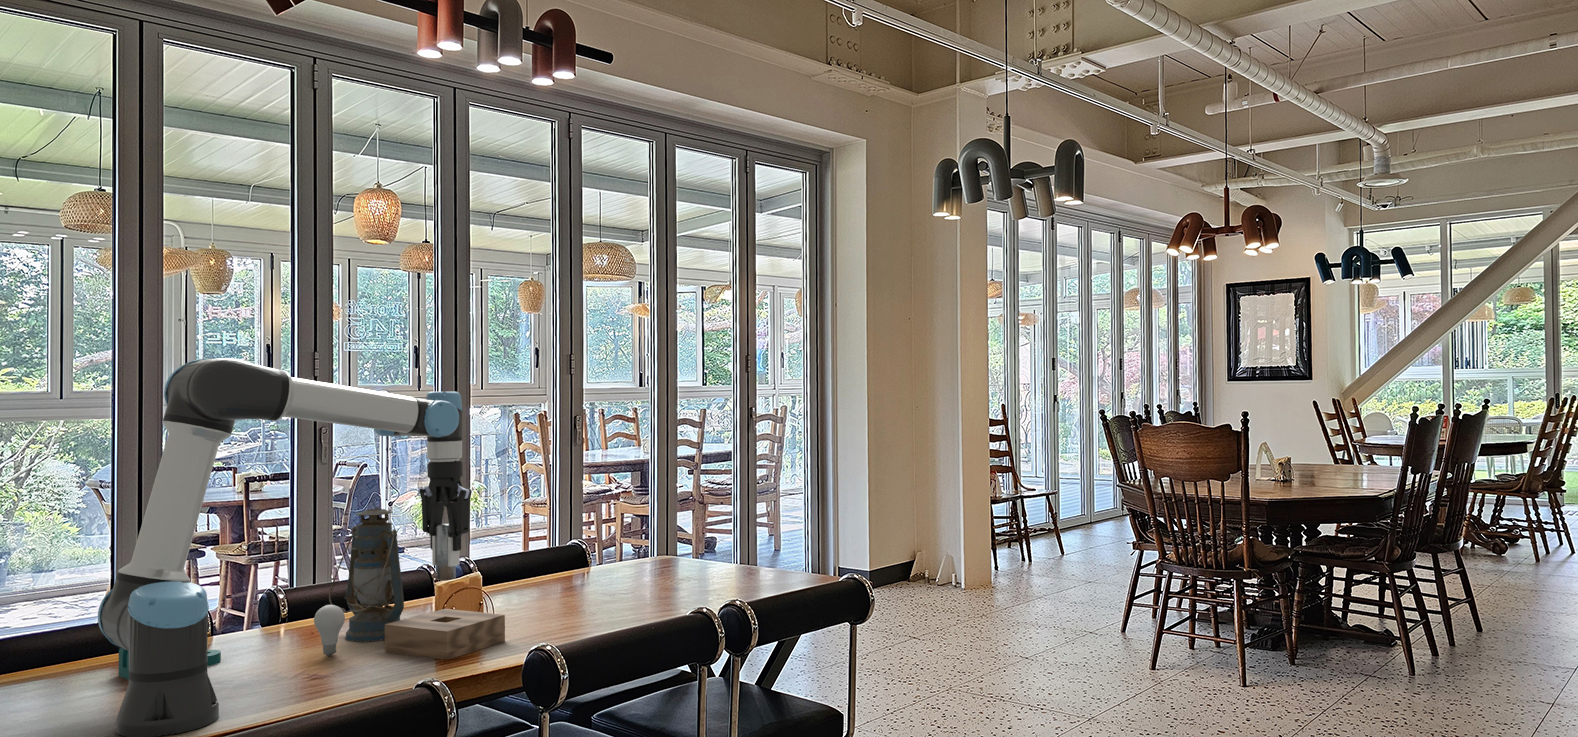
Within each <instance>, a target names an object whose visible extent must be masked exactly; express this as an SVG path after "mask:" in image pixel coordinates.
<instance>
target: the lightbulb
mask: <svg viewBox="0 0 1578 737" xmlns="http://www.w3.org/2000/svg"><path fill="white" fill-rule="evenodd" d="M341 608H342V607H340V606H338V605H335V604H332V605H331V604H326V605H324V606H322V607H321V608H319V609H318V610H317V611H316V613H315V614H314V619H313V622H314V626H315V628H316V630H317V632H318V633H319V636H320V640H321V645H322V651H323V655H324V656H327V657H333V655H334V654H336V652H337V644H338V638H339V634H340V632H341V630H342V628H343V626H344V624H345V621H346V619H345V618H346V616H345V615H346V614H345V612H344V610H342V609H341Z"/></svg>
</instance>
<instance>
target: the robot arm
mask: <svg viewBox="0 0 1578 737" xmlns="http://www.w3.org/2000/svg"><path fill="white" fill-rule="evenodd" d="M163 391H164V392H163V397H164V401H165V403H166V409H165V413H164V415H163V419H162V421H161V422H162V423H161V424H162V425H163V426H164V428H165V429H166V431H167V433H168V434H167V438H166V440H165V441H166V442H165V445H164V449H163V451H162V456H161V458H160V462H159V466H158V468H157V472H156V476H155V479H154V483H153V484H152V489H151V492H150V497H149V500H148V503H147V505H146V510H145V514H144V515H143V516H144V517H143V519H142V522H141V525H140V526H141V527H140V530H139V533H138V537H137V540H136V544H135V547H134V550H133V554H132V558H131V561H130V562H129V563H127V564H126V565H124V566H122V567H121V568H120V569H118V571H117V574H116V578H115V580H114V584H113V587H112V589H110V590H109V591H108V593H107V594H106V595H105V596H104V597H103V598H102V599H101V600H102V601H101V602H100V605H99V606H98V607H99V608H98V611H97V624H98V627H99V629H100V631H101V633H102V634H103V636H105V638H106V639H107V640H108V641H109V642H110V643H111V644H112V645H114V646H115V647H118V648H119V649H120V648H122V649H126V650H128V651H129V680H128V684H127V687H126V691H125V694H124V697H123V698H122V699H123V700H122V703H121V705H120V709H119V711H118V713H117V716H116V725H115V726H116V733H117V734H118V735H120V736H123V737H162V736H161V735H164V736H169V735H168V734H170V735H174V734H173V733H176V734H181V733H185V731H186V732H190V731H193V730H196V729H200V728H203V727H204V726H205V727H206V726H207V725H210V724H212V723H214V722H215V721H216V720H218V719H219V715H220V712H219V711H220V705H219V700H218V698H217V696H216V693H215V690H214V687H213V684H212V681H211V679H210V677H209V674H208V666H207V650H208V640H209V639H208V626H209V625H208V621H209V618H208V617H209V616H208V615H209V614H208V613H209V609H210V608H209V607H210V606H209V602H208V593H207V591H206V589H205V588H204V587H203V586H201V585H199V584H197V583H194V582H191V579H190V577H189V575H188V574H187V572H186V570H185V566H186V563H187V559H188V556H189V552H190V549H191V546H192V543H193V542H192V541H193V538H194V535H195V530H196V528H197V524H198V520H199V516H200V513H201V510H202V506H203V502H204V500H205V496H206V492H207V489H208V485H209V482H210V479H211V478H210V477H211V475H212V474H211V473H212V470H213V468H214V464H215V460H216V457H217V454H218V453H217V452H218V449H219V446H220V444H221V443H222V442H223V441H225V440H227V439H228V438H230V437H231V436H232V434H233V430H234V425H235V422H236V421H238V420H244V421H245V420H263V421H272V422H277V421H279V420H281V419H282V418H290V419H291V418H292V419H298V420H307V421H311V422H312V421H314V422H320V423H329V424H335V425H336V424H337V425H343V426H351V427H358V428H367V429H373V430H374V432H375V433H376V434H377V435H378V436H380V437H391V438H392V437H393V438H394V437H398V436H399V437H401V436H405V437H406V436H407V437H426V441H427V442H426V454H427V455H426V459H427V460H429V461H428V462H427V464H426V467H427V468H426V469H427V471H426V472H427V474H426V475H427V478H428V479H430V480H429V484H428V485H427V486H426V487H423V488H419V489H418V493H419V494H420V495H419V496H420V498H421V522H422V523H421V524H422V532H423V533H427V534H428V536H430V537H429V538H430V539H429V540H430V541H429V542H430V544H429V545H430V550H431V553H432V554H431V555H432V556H431V558H432V559H431V560H432V561H431V562H432V564H431V565H432V566H437V546H436V525H438V524H443V518H444V511H445V508H446V513H447V518H448V523H449V526H450V533H451V535H449V537H448V566H449V567H452V566H460V565H461V564H460V562H461V561H460V551H461V550H462V536H463V535H465V534H467V533H469V532H470V499H471V496H472V490H473V489H471V488H465V487H463V485H462V480H461V478H462V477H463V474H464V473H463V472H464V470H463V469H464V468H463V466H464V464H463V461H462V460H460V459H462V458H463V413H464V412H463V403H462V402H463V401H462V395H461V393H460V392H458V391H454V390H453V391H428V392H427V393H426V398H421V397H420V398H419V397H413V396H408V395H404V394H395V393H389V392H384V391H378V390H373V389H365V388H360V387H353V386H348V385H342V384H337V383H336V384H335V383H330V382H324V381H316V380H311V379H306V378H300V377H292V376H291V375H290V374H289V372H288V371H286V370H283V369H277V368H273V367H268V366H264V365H260V364H255V363H253V362H249V361H245V360H242V359H235V358H232V357H231V358H230V357H219V358H199V359H195V360H192V361H188V362H186V363H184V364H183V365H180V366H179V367H178V368H175V370H174V371H173V372H172V373H171V374H170V376H169V377H168V379H167V381H166V382H165V384H164V390H163ZM180 732H181V733H180ZM166 734H167V735H166Z"/></svg>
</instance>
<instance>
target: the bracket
mask: <svg viewBox="0 0 1578 737" xmlns="http://www.w3.org/2000/svg"><path fill="white" fill-rule="evenodd" d="M221 657H222V651H221V650H219V649H207V667H210V666H214V665H217V664H220V663H221V660H222V659H221ZM118 677H121V678H122V679H124V680H127V681H129V651H128V650H126V649H122V648H120V647H119V648H118Z"/></svg>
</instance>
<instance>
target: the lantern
mask: <svg viewBox="0 0 1578 737" xmlns="http://www.w3.org/2000/svg"><path fill="white" fill-rule="evenodd" d="M393 513H394V512H393V511H391V510H388V509H385V508H383V509H382V508H381V509H380V506H376V507H373V508H371V509H366V510H363V511H361V512H357V513H356V514H355V515H357V516H360V524H356V525H355V526H353V527H351V528H352V529H351V531H352V533H351V536H350V538H349V540H348V543H347V546H346V547H345V550H344V552H343V554H342V557H341V559H340V561H339V564H338V567H337V569H336V572H335V575H334V578H333V580H332V583H331V586H330V590H329V594H328V600H329V603H330V604H329V605H333V603H332V600H331V595H332V592H333V591H332V590H333V587H334V585H335V581H336V579H337V575H338V573H339V571H340V568H341V565H342V562H343V560H344V557H345V556H346V552H347V550H348V548H349V545H350V543H351V550H350V557H349V558H350V561H349V568H348V579H347V587H346V594H345V595H344V600H346V603H347V606H348V608H349V610H347V611H346V609H345V608H344V607H340V608H341V609H342V610H343V612H344V614H348V613H350V612H351V613H353V615H352V616H351V617H349V618H348V624H349V625H348V630H346V632H345V640H346V641H350V642H359V643H361V642H365V643H366V642H376V641H377V642H378V641H385V624H388V623H392V622H396V621H400V620H401V615H402V613H403V611H404V609H405V605H404V604H405V599H404V598H405V597H404V588H403V581H402V580H403V579H402V572H401V563H400V554H399V546H398V545H399V543H398V542H399V541H398V531H397V529H393V523H392V522H388V521H389V520H390V518H389V514H393ZM383 515H384V517H380V516H383ZM365 516H367V517H368V518H365ZM392 603H393V604H394V605H393V606H392V605H390V604H392Z"/></svg>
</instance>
